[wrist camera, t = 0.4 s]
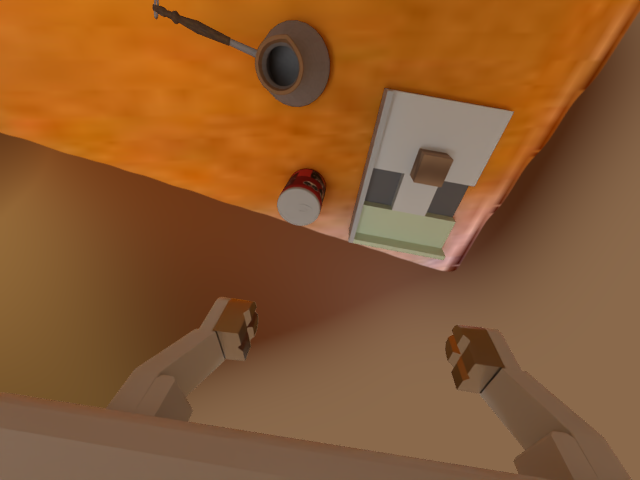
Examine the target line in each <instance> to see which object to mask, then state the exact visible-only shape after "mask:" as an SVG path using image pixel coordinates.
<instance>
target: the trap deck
mask: <svg viewBox="0 0 640 480" xmlns="http://www.w3.org/2000/svg"><path fill="white" fill-rule="evenodd" d="M513 113H514V112H512V111H509V110H505V109H499V108H493V107H488V106H482V105H477V104H471V103H465V102H460V101H454V100H449V99H443V98H438V97H432V96H426V95H421V94H415V93H410V92H404V91H398V90H393V89H387V88H384V92H383V96H382V100H381V104H380V108H379V112H378V116H377V120H376V124H375V128H374V132H373V136H372V140H371V144H370V148H369V152H368V156H367V160H366V164H365V168H364V172H363V176H362V180H361V184H360V188H359V192H358V196H357V200H356V204H355V208H354V212H353V216H352V220H351V224H350V228H349V242H350V243H356V244H361V245H366V246H372V247H377V248H382V249H387V250H393V251H398V252H403V253H409V254H414V255H419V256H424V257H430V258H435V259H440V260H444V258H445V255H444V252H443V250H442V247H443V245H444V243H445V241H446V239H447V237H448V235H449V234H450V232H451V230H452V228H453V226H454V224H455V220H454V219H453V215H454V213H455V211H456V209H457V207H458V206H459V204H460V202H461V200H462V198H463V196H464V194H465V192H466V190H467V188H468V186H475V185H476V183H477V181H478V179H479V177H480V175H481V173H482V171H483V169H484V168H485V166H486V164H487V162H488V160H489V158H490V156H491V154H492V152H493V151H494V149H495V147H496V145H497V143H498V141H499V139H500V137H501V135H502V134H503V132H504V130H505V128H506V126H507V124H508V122H509V120H510V119H511V117H512V115H513ZM419 148H421V149H427V150H432V151H437V152H443V153H447V154H448V155H449V156H450V157H451V158H452V159H453V163H452V165H451V167H450V169H449V172H448V174H447V176H446V178H445V180H444V183H443V185H442V187H436V186H430V185H425V184H420V183H414V182H413V180H412V178H411V176H410V173H411V170H412V167H413V165H414V162H415V159H416V156H417V154H418V151H419Z"/></svg>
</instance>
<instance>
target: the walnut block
mask: <svg viewBox="0 0 640 480" xmlns="http://www.w3.org/2000/svg"><path fill="white" fill-rule="evenodd" d="M452 163H453V159H452V158H451V157H450V156H449V155H448V154H447V153H443V152H437V151H432V150H427V149H421V148H419V151H418V154H417V156H416V159H415V162H414V165H413V167H412V170H411V173H410V176H411V178H412V180H413V182H414V183H420V184H425V185H430V186H436V187H442V185H443V183H444V180H445V178H446V176H447V174H448V172H449V169H450V167H451V165H452Z"/></svg>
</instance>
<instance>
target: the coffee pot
mask: <svg viewBox="0 0 640 480" xmlns="http://www.w3.org/2000/svg"><path fill="white" fill-rule="evenodd" d="M153 11H154V17H155V19H157V18H158V14H160V15H161V16H163V17H168V18H170V19H171V20H172V21H173V22H174V23H175V24H178V23H180V24H182V25H184V26H185V27H187V28H189V29H190V30H192V31H194V32H195V33H197V34H200V35H202V36H205V37H208V38H210V39H213V40H215V41H218V42H221V43H223V44H226V45H230V46H232V47H234V48H236V49H238V50H241V51H243V52H245V53H247V54H249V55H251V56H253V57H255V67H256V73H257V76H258V78H259V80H260V82H261V83H262V85H263V86H264V87H265V88H266V89H267V90H268V91H269V92H270V93H271V94H272V95H273V96H274V97H275V98H276V99H277V100H279V101H280V102H282V103H283V104H286V105H289V106H294V107H301V106H304V105H308V104H310V103H311V102H313V101H314V100H316V99H317V98H318V97H319V96H320V94H321V93H322V92H323V90H324V88H325V86H326V84H327V81H328V77H329V73H330V60H329V55H328V50H327V47H326V45H325V43H324V41H323V39H322V37H321V36H320V35H319V34H318V32H317V31H316V30H315V29H314V28H312V27H311V26H309V25H308V24H306V23H303V22H300V21H298V20H295V21H285V22H283V23H280V24H278V25H277V26H275V27H274V28H273V29H272V30H271V31H270V32H269V33H268V35H267V36H266V38H265V39H264V41H263V42H262V43H261V44H260V46H259V47H258V50H256V49H254V48H251V47H249V46H247V45H244V44H242V43H240V42H237V41H235V40H233V39H230V37H228V36H226V35H224V34H222V33H220V32H218V31H216V30H214V29H212V28H210V27H209V26H207V25H205V24H203V23H201V22H199V21H197V20H193V19H190V18H186V17H183V16H180V15H179V14H178V12H177V11H172V12H171V11H167V10H166V9H165V8H164V7H162V6H159V0H157V5H156V0H154V4H153ZM156 12H157V13H156Z"/></svg>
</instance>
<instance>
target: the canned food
mask: <svg viewBox="0 0 640 480" xmlns="http://www.w3.org/2000/svg"><path fill="white" fill-rule="evenodd" d="M325 190H326V185H325V181H324V179H323V178H322V176H321V175H320V174H319V173H317V172H316V171H314V170H311V169H302V170H299V171H297V172H295V173H294V174H293V175H292V176H291V178H290V180H289V181H288V183H287V184H286V186H285V188H284V189H283V191H282V193H281V194H280V196H279V199H278V203H277V207H278V211H279V213H280V215H281V216H282V217H283V218H284V219H285V220H286V221H287V222H289V223H291V224H294V225H299V226H303V225H308V224H311V223H312V222H314V221H315V220H316V219H317V217H318V216H319V214H320V210H321V206H322V202H323V198H324V194H325Z"/></svg>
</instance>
